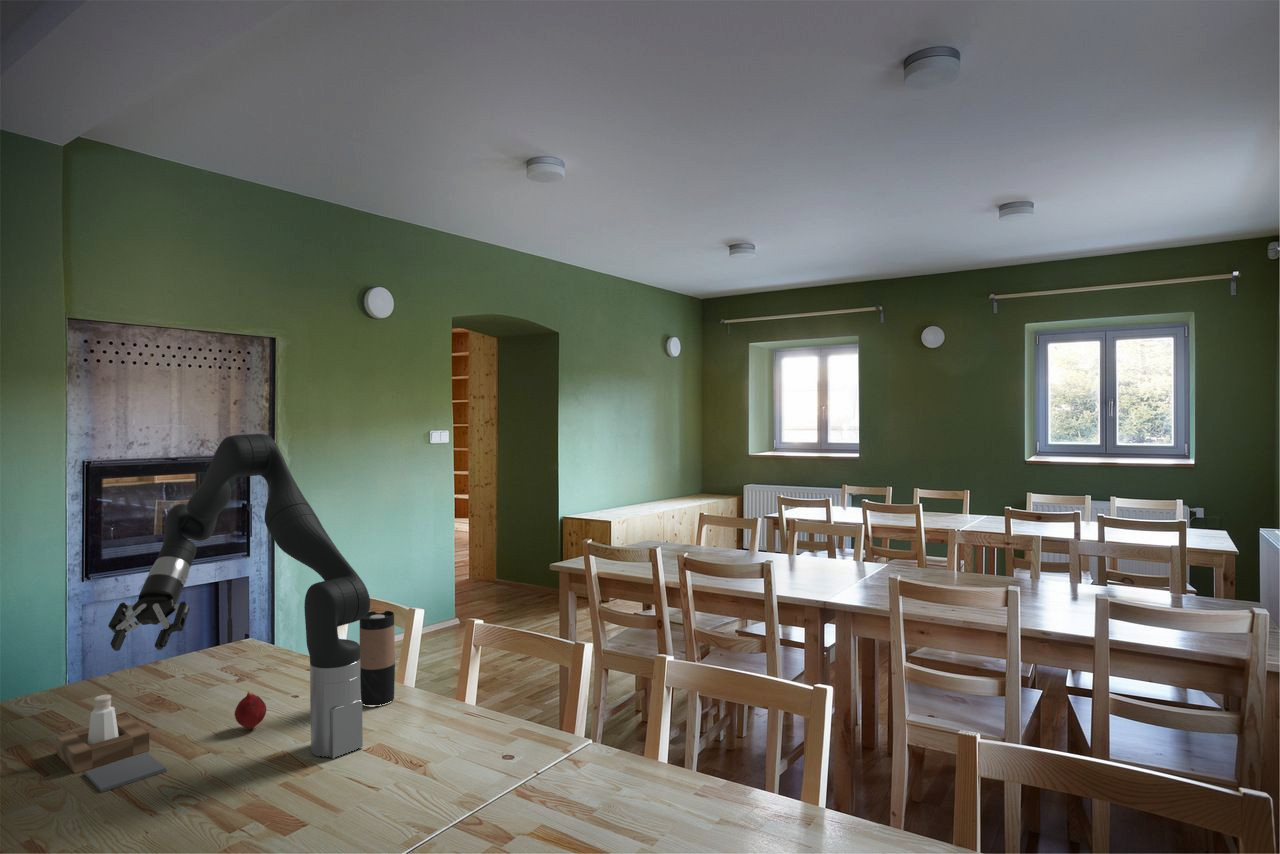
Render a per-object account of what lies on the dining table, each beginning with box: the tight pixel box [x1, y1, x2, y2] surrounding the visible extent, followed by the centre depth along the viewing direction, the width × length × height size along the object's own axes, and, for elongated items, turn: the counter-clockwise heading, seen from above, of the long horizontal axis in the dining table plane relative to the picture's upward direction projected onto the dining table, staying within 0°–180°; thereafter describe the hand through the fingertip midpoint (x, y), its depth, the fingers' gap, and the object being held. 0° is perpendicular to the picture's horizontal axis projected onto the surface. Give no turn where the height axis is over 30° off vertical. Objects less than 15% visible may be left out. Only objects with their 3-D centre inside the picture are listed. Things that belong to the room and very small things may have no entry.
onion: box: [234, 690, 267, 730], centre depth 156 cm, size 6×6×8 cm
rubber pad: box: [83, 752, 167, 793], centre depth 137 cm, size 10×10×1 cm
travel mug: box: [359, 610, 396, 705], centre depth 171 cm, size 8×8×20 cm
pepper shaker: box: [87, 694, 119, 745], centre depth 145 cm, size 5×5×11 cm
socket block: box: [56, 716, 150, 774], centre depth 145 cm, size 12×12×4 cm
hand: (136, 648), depth 157 cm, fingers open, 8 cm apart
